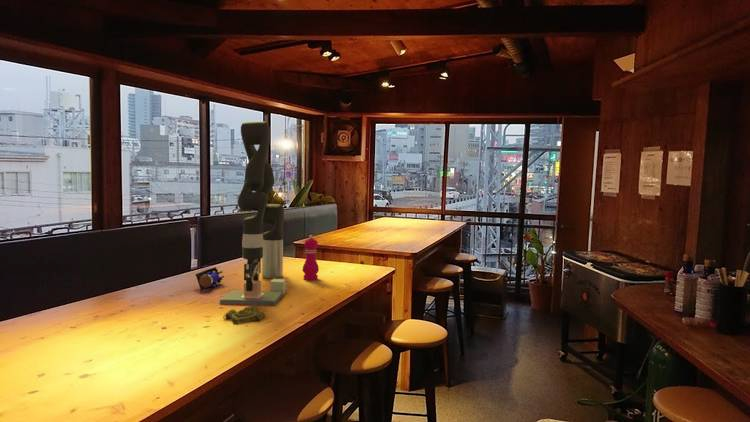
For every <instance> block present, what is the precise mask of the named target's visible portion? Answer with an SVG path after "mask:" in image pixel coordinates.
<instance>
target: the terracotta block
mask: <svg viewBox="0 0 750 422" xmlns="http://www.w3.org/2000/svg"><path fill="white" fill-rule="evenodd" d="M243 291H244V297H258V296H259V295H260V294H261V291H262V280H259V281H253V290H252V291H246V281H245V282H243Z"/></svg>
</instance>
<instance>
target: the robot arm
mask: <svg viewBox="0 0 750 422" xmlns="http://www.w3.org/2000/svg"><path fill="white" fill-rule="evenodd" d="M240 136H241V141H242V143H243V146H244V149H245V153H246V156H247V161H248V163H247V164H246V166H245V172H244V180H243V181H244V182H243V186H242V188H241V190H240V193H239V195H238V197H237V198H238V199H237V206H238V207H239V209H240V210H241V211H244V212H249V211H250V212H257V213H256V215H253V216H248V217H245V218H244V219H242V240H241V241H242V242H241V246H242V247H241V249H242V251H241V253H242V255H241V256H242V257H241V258H242V259H244V260H247V261H246V263H244V264H243V281H245V282H246V291H252V290H253V281H260V274H261V277H262V278H264V279H281V278H282V277H283V276H284V275H283V274H284V271H283V270H284V260H283V259H284V224H285V223H284V222H285V208H284V206H283V205H282V204H280V203H268V195H269V194H270V193H271V191H272V189H273V187H274V185H275V176H274V170H273V167H272V165H271V164H270V163H269V162H268V160H267V156H268V152H269V147H270V142H271V129H270V125H269V123H268V122H267V121H263V120H262V121H246V122H242V123H241V126H240ZM256 146H258V149H257V148H256ZM263 225H274V228H273V229H270V230H269V231H265V232H263ZM261 262H262V263H261ZM261 265H262V266H261ZM261 267H262V268H261Z"/></svg>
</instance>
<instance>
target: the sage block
mask: <svg viewBox="0 0 750 422" xmlns="http://www.w3.org/2000/svg"><path fill="white" fill-rule="evenodd" d="M286 282H287V281H286V278H283V279H282V278H272V279H271V280H270V287H269V288H270V290H269V291H276V292H283V295H284V294H285V292H286V290H287V289H286V287H287V285H286Z"/></svg>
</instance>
